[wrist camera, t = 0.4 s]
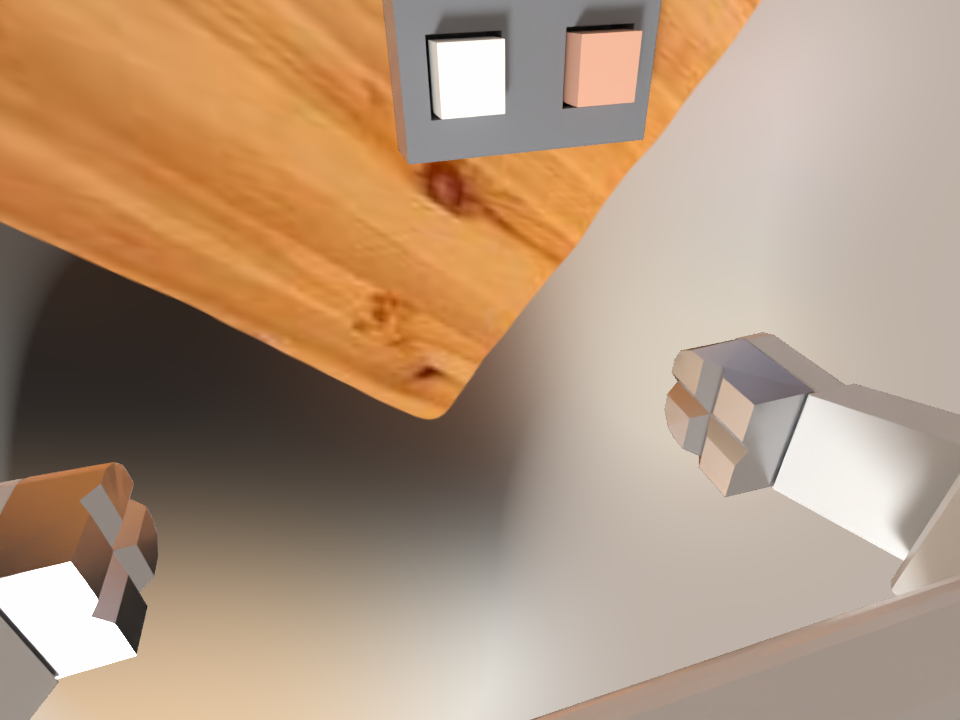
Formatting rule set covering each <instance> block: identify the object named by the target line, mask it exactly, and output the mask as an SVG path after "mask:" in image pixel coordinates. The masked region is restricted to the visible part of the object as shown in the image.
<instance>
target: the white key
mask: <svg viewBox="0 0 960 720" xmlns="http://www.w3.org/2000/svg"><path fill="white" fill-rule="evenodd" d="M428 47H429V61H430V74H431V88H432V102H433V113H434V114H436V115H437V116H438V117H439V118H440V119H454V118H465V117H476V116H487V115H498V114H505V39H504V38H499V37H494V36H486V37H469V38H451V39H434V40H428Z"/></svg>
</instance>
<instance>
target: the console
mask: <svg viewBox="0 0 960 720" xmlns="http://www.w3.org/2000/svg"><path fill="white" fill-rule="evenodd" d="M382 1H383V10H384V19H385V28H386V38H387V47H388V56H389V66H390V75H391V84H392V93H393V103H394V112H395V121H396V131H397V140H398V149H399V151H400V153H401V154H402V156H403V157H404V158H405V160H406V161H407V163H408V164H417V163H427V162H436V161H446V160H455V159H465V158H474V157H484V156H493V155H502V154H512V153H521V152H531V151H540V150H550V149H559V148H569V147H578V146H587V145H597V144H606V143H616V142H625V141H635V140H643V139H644V131H645V123H646V115H647V107H648V100H649V92H650V84H651V76H652V68H653V61H654V53H655V45H656V37H657V29H658V22H659V14H660V6H661V0H382ZM609 29H631V30H640V31H642V40H641V48H640V57H639V66H638V74H637V83H636V92H635V100H634V102H633V103H621V104H610V105H599V106H588V107H575V106H572V105H570V104H567V103H565V102H563V85H564V65H565V44H566V32H574V31H591V30H609ZM486 36H494V37H499V38H504V39H505V114H498V115H487V116H476V117H465V118H454V119H440V118H439V117H438V116H437V115H436V114H434V113H433V102H432V88H431V74H430V61H429V47H428V40H434V39H451V38H469V37H486Z"/></svg>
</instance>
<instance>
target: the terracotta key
mask: <svg viewBox="0 0 960 720" xmlns="http://www.w3.org/2000/svg"><path fill="white" fill-rule="evenodd" d="M641 40H642V31H640V30H631V29H609V30H591V31H574V32H566V44H565V65H564V85H563V102H565V103H567V104H570V105H572V106H575V107H588V106H599V105H610V104H621V103H633V102H634V100H635V92H636V83H637V74H638V66H639V57H640V48H641Z"/></svg>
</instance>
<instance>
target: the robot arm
mask: <svg viewBox="0 0 960 720" xmlns="http://www.w3.org/2000/svg"><path fill="white" fill-rule="evenodd" d="M672 373H673V375H674V376H675V378H676V379H677V381H678V382H677V383H676V384H675V385H674V387H673V388H672V389H671V390H670V392H669V393H668V394H667V399H666V405H665V415H666V420H667V425H668V428H669V430H670V432H671V433H672V436H673V438H674V439H675V440H676V441H677V443H678V444H679V445H680V446H681V447H682V448H683V449H685V450H687V451H689V452H691V453H694V454H696V455H698V456H699V468H700V469H701V470H702V471H703V473H704V474H705V475H706V476H707V477H708V478H709V480H710V481H711V482H712V483H713V484H714V485H715V486H716V488H717V489H718V490H719V491H720V492H721V493H722V494H723V495H724V497H728V496H732V495H736V494H741V493H745V492H749V491H753V490H758V489H761V488H766V487H770V486H773V489H774V490H776V491H778V492H780V493H781V494H783V495H785V496H787V497H789V498H791V499H792V500H794V501H796V502H798V503H800V504H801V505H803V506H805V507H807V508H809V509H811V510H812V511H814V512H816V513H818V514H820V515H821V516H823V517H825V518H827V519H829V520H831V521H832V522H834V523H836V524H838V525H840V526H841V527H843V528H845V529H847V530H849V531H851V532H852V533H854V534H856V535H858V536H860V537H861V538H863V539H865V540H867V541H869V542H871V543H872V544H874V545H876V546H878V547H880V548H881V549H883V550H885V551H887V552H889V553H890V554H892V555H894V556H896V557H898V558H900V559H901V560H904V561H903V563H902V564H901V566H900V568H899V569H898V571H897V572H896V574H895V575H894V577H893V579H892V580H891V590H892V591H893V592H894V593H895V594H896V596H894V597H891V598H888V599H885V600H882V601H880V602H876V603H873V604H871V605H868V606H865V607H862V608H859V609H856V610H853V611H850V612H847V613H844V614H841V615H838V616H835V617H832V618H829V619H827V620H823V621H821V622H818V623H814V624H811V625H809V626H806V627H803V628H800V629H797V630H794V631H791V632H788V633H785V634H782V635H779V636H776V637H773V638H770V639H767V640H764V641H762V642H758V643H755V644H753V645H750V646H747V647H744V648H741V649H738V650H735V651H732V652H729V653H726V654H723V655H720V656H717V657H714V658H711V659H708V660H705V661H702V662H699V663H697V664H693V665H690V666H688V667H685V668H682V669H679V670H676V671H673V672H670V673H667V674H664V675H661V676H658V677H655V678H652V679H649V680H646V681H643V682H640V683H637V684H635V685H631V686H629V687H626V688H623V689H620V690H617V691H614V692H611V693H608V694H605V695H602V696H599V697H596V698H593V699H590V700H587V701H585V702H581V703H578V704H575V705H573V706H570V707H567V708H564V709H561V710H558V711H555V712H552V713H549V714H546V715H543V716H540V717H537V718H534V719H531V720H960V415H959V414H955V413H952V412H949V411H945V410H942V409H939V408H935V407H932V406H928V405H925V404H922V403H918V402H915V401H911V400H908V399H905V398H901V397H898V396H895V395H891V394H888V393H884V392H881V391H878V390H874V389H870V388H868V387H864V386H861V385H857V384H851V385H845V384H844V383H842V382H840V381H839V380H838V379H836V378H835V377H833V376H832V375H831V374H829V373H828V372H826V371H825V370H823V369H822V368H820V367H819V366H818V365H816V364H815V363H813V362H812V361H811V360H809V359H808V358H806V357H805V356H803V355H802V354H800V353H799V352H797V351H796V350H795V349H793V348H792V347H790V346H789V345H788V344H786V343H785V342H783V341H782V340H780V339H779V338H778V337H776V336H775V335H772V334H768V333H764V332H762V333H758V334H753V335H749V336H744V337H740V338H736V339H735V340H730V341H725V342H721V343H716V344H711V345H706V346H701V347H696V348H691V349H686V350H681V351H680V352H679V354H678V355H677V357H676V358H675V360H674V364H673V369H672ZM133 485H134V483H133V481H132V479H131V478H130V476H129V474H128V472H127V471H126V469H125V467H124V466H123V465H121V464H118V463H115V462H112V463H106V464H100V465H95V466H89V467H84V468H79V469H72V470H66V471H61V472H55V473H50V474H44V475H38V476H33V477H28V478H26V479H18V480H13V481H8V482H2V483H0V720H30V719H31V717H32V716H33V715H34V713H35V712H36V711H37V710H38V708H39V707H40V706H41V704H42V703H43V702H44V700H45V699H46V698H47V697H48V695H49V694H50V693H51V691H52V690H53V689H54V688H55V686H56V685H57V684H58V680H57V678H60V677H64V676H67V675H70V674H74V673H77V672H81V671H84V670H87V669H91V668H94V667H98V666H101V665H104V664H108V663H111V662H115V661H118V660H122V659H125V658H128V657H131V656H135V655H136V654H137V650H138V645H139V641H140V637H141V633H142V628H143V624H144V620H145V615H146V611H147V604H146V603H145V601H144V600H143V598H142V596H141V594H140V593H139V592H140V591H141V590H142V589H143V588H144V587H145V586H146V585H147V583H148V582H149V581H150V580H151V579H152V578H153V577H154V575H155V570H156V565H157V560H158V540H157V532H156V529H155V525H154V522H153V519H152V517H151V515H150V513H149V511H148V509H147V507H146V506H144V505H142V504H140V503H137V502H135V501H133V500H131V499H129V498H130V495H131V491H132V488H133Z"/></svg>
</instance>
